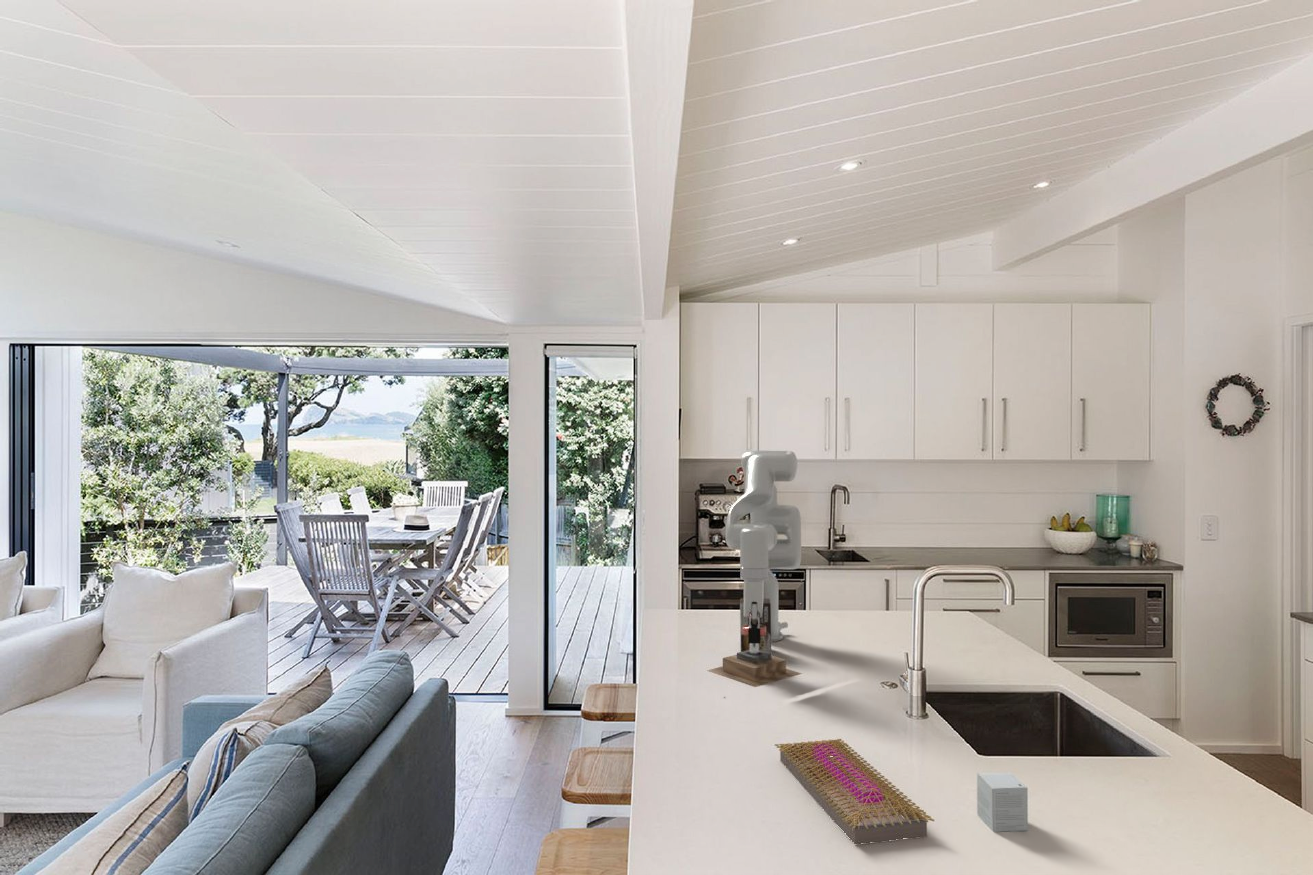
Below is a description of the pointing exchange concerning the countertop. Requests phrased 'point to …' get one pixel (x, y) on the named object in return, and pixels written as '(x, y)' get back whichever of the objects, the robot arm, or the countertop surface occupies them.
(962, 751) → the countertop surface
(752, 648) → the copper dome knob
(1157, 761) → the countertop surface
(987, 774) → the product box
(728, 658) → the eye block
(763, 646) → the coffee box
